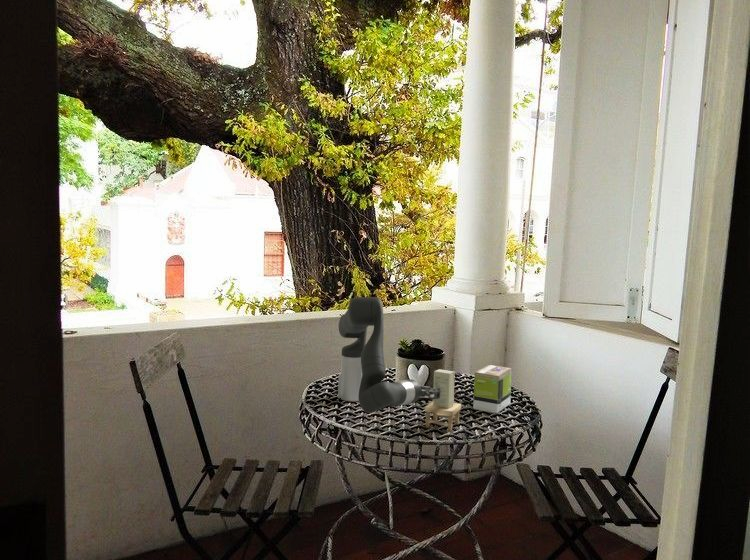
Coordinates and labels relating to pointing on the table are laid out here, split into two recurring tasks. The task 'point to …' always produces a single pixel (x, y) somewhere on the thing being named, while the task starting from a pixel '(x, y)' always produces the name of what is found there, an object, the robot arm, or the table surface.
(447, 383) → the skincare box
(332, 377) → the table surface
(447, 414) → the wooden stool
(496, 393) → the tea box
